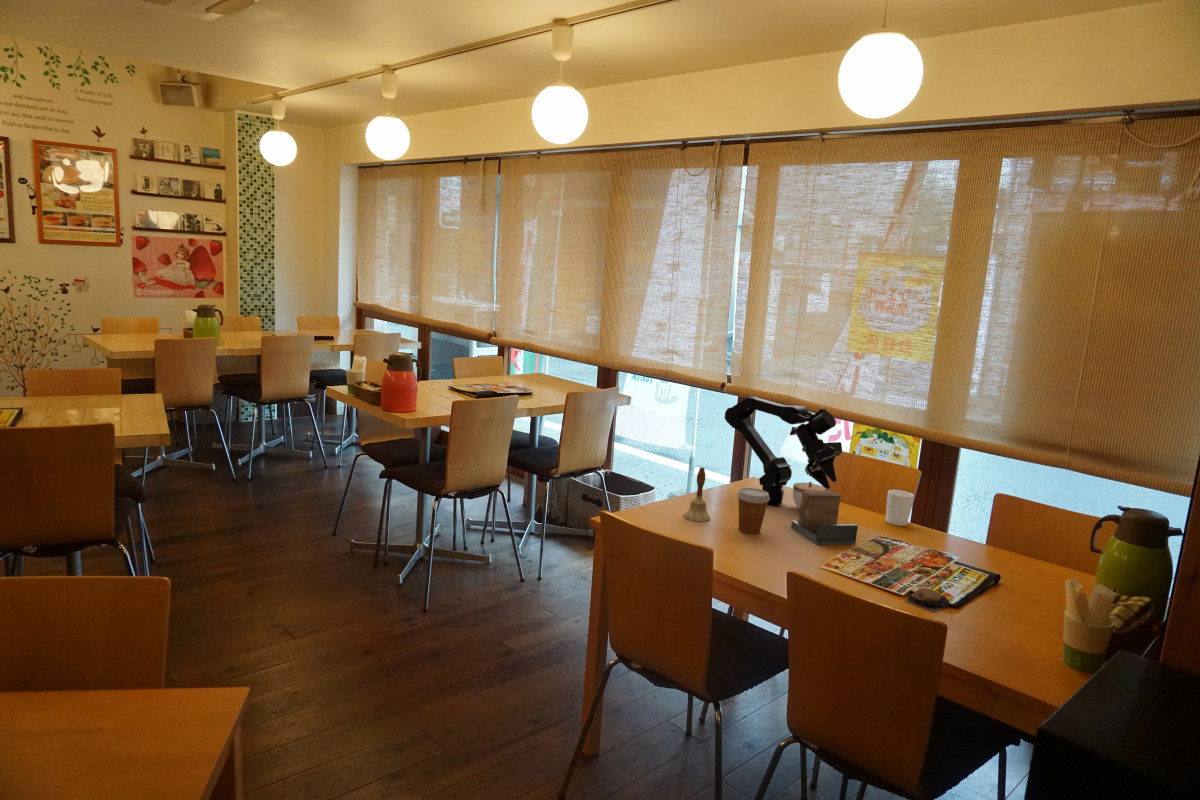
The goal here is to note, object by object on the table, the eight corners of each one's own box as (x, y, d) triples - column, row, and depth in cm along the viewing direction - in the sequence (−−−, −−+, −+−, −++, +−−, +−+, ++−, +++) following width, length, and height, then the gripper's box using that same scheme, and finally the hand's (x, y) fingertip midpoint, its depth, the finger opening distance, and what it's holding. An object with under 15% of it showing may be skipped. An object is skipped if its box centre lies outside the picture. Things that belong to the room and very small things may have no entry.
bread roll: (935, 616, 179) (937, 601, 178) (900, 602, 185) (902, 588, 184) (954, 605, 186) (956, 591, 186) (920, 593, 192) (922, 579, 192)
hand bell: (712, 522, 233) (718, 472, 230) (685, 521, 232) (691, 470, 230) (707, 514, 241) (712, 465, 238) (681, 512, 240) (686, 463, 238)
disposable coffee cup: (730, 532, 225) (735, 492, 223) (736, 523, 234) (740, 485, 232) (763, 538, 222) (768, 498, 220) (767, 529, 231) (772, 491, 229)
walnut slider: (797, 525, 233) (802, 490, 232) (826, 525, 236) (831, 491, 234) (806, 531, 229) (811, 495, 227) (835, 530, 231) (840, 496, 230)
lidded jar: (799, 513, 250) (803, 486, 248) (785, 503, 260) (788, 477, 259) (829, 514, 252) (833, 487, 251) (813, 504, 262) (817, 478, 261)
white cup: (912, 527, 246) (917, 497, 244) (888, 525, 246) (893, 495, 244) (903, 519, 253) (908, 490, 252) (880, 517, 254) (884, 488, 252)
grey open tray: (791, 527, 235) (793, 509, 234) (827, 527, 238) (829, 509, 237) (817, 544, 220) (820, 525, 219) (855, 544, 224) (857, 525, 223)
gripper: (839, 423, 239) (862, 468, 234) (826, 441, 256) (847, 483, 251) (806, 435, 238) (829, 481, 233) (795, 452, 256) (816, 495, 250)
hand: (831, 485), depth 242 cm, fingers open, 9 cm apart
